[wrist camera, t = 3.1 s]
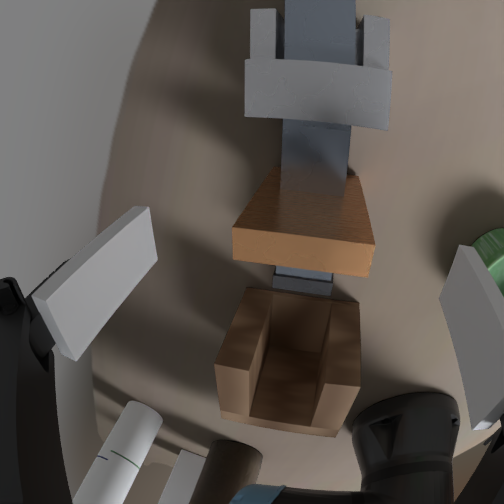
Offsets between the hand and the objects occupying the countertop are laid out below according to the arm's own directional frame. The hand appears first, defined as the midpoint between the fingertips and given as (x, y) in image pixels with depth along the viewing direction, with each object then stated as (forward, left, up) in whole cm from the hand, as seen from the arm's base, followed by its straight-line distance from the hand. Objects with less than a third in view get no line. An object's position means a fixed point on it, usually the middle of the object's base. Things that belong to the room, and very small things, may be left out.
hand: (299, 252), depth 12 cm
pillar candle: (+7, +49, -11) cm, 51 cm away
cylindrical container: (+24, +43, -11) cm, 51 cm away
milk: (+17, +60, -11) cm, 64 cm away
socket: (0, +15, -11) cm, 18 cm away
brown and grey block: (0, -4, -11) cm, 11 cm away
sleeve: (0, -8, -11) cm, 13 cm away
